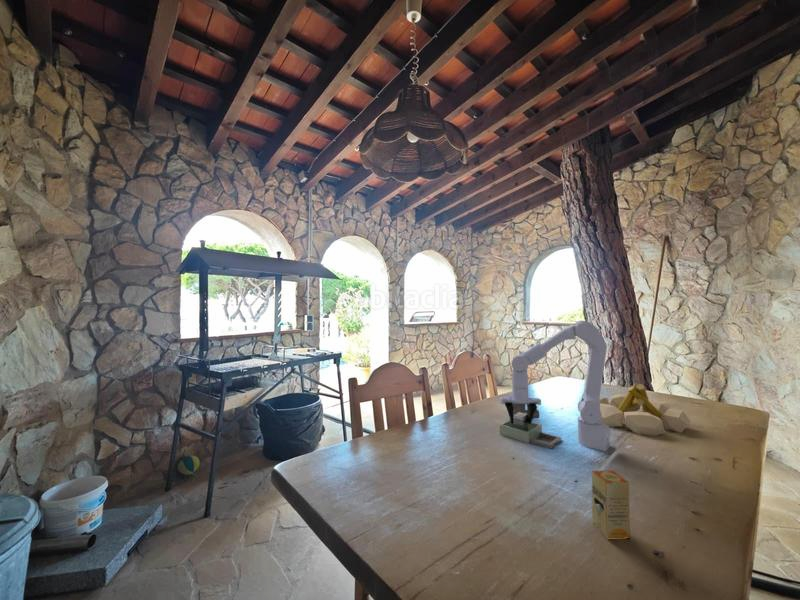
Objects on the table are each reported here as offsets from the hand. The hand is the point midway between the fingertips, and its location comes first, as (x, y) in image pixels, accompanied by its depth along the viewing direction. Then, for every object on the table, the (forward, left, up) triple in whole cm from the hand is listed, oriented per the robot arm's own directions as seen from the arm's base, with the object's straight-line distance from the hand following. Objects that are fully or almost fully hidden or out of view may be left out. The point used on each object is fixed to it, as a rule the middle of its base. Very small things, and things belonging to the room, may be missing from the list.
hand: (520, 423), depth 125 cm
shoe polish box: (-38, +36, -6) cm, 53 cm away
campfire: (-26, -51, -6) cm, 57 cm away
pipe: (+8, -20, -6) cm, 22 cm away
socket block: (-9, 0, -5) cm, 10 cm away
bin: (0, 0, -5) cm, 5 cm away
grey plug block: (0, 0, -4) cm, 4 cm away
